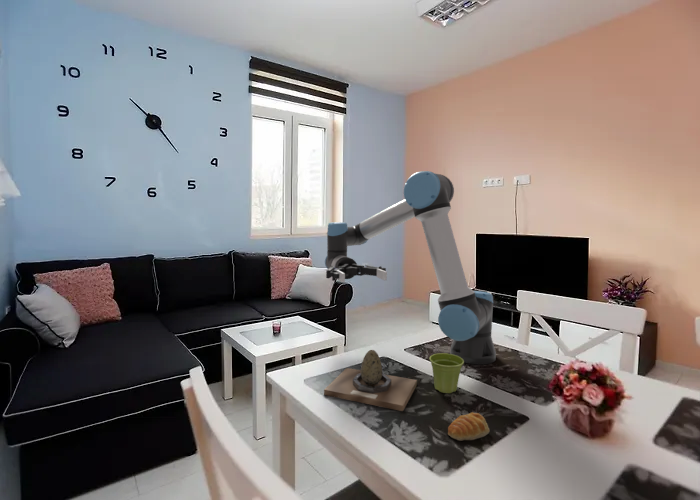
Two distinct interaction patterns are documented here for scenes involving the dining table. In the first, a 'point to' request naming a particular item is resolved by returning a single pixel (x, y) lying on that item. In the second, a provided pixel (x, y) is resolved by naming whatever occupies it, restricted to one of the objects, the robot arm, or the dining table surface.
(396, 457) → the dining table surface
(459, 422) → the pastry
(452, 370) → the plant pot
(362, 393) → the walnut board
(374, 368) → the decorative egg
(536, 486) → the dining table surface
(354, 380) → the ring socket
